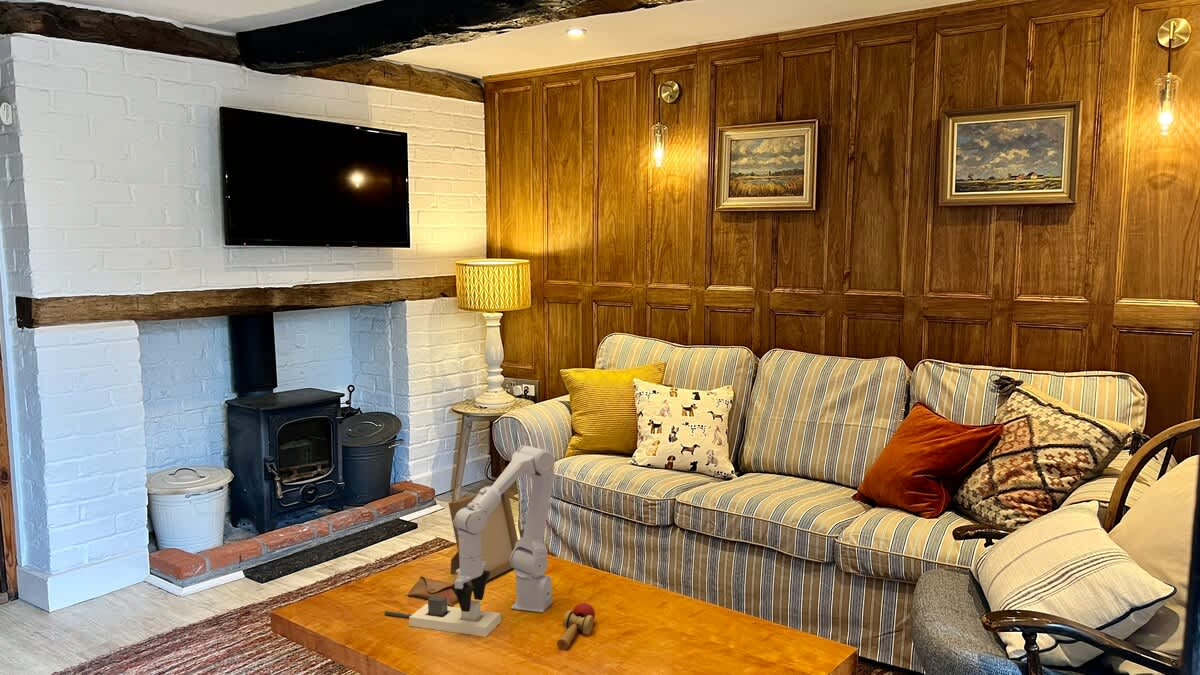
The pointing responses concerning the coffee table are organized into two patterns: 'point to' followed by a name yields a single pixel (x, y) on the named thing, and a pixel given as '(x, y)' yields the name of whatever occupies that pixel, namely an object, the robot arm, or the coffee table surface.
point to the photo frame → (490, 535)
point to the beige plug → (472, 612)
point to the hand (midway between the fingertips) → (472, 605)
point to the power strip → (449, 618)
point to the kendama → (576, 623)
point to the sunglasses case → (433, 590)
